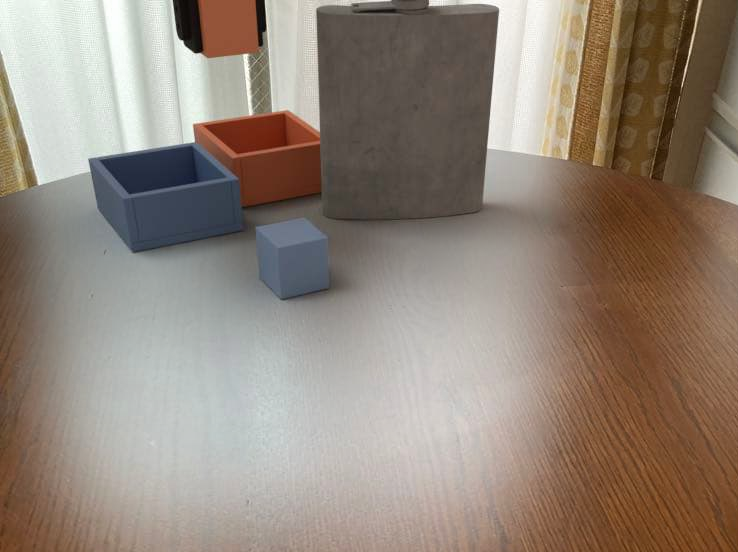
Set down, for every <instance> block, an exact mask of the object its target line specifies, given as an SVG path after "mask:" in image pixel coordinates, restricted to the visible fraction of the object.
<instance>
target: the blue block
mask: <svg viewBox="0 0 738 552" xmlns="http://www.w3.org/2000/svg"><path fill="white" fill-rule="evenodd" d="M255 237H256V238H255V239H256V253H257V265H258V276H259V279H260V280H261V281H262V282H264V284H265V285H266V286H267V287H268V288H269V289H270V290H271V291H272V292H273V293H274V294H275V295H276V296H277V297H278V298H279V299H280V300H284V299H289V298H294V297H298V296H302V295H306V294H310V293H311V294H312V293H315V292H320V291H323V290H328V289H330V269H329V268H330V267H329V266H330V265H329V261H330V260H329V237H328V236H327V235H326V234H324V233H323V232H322V231H320V229H318V228H317V227H316V226H315V225H314V224H312V223H311V222H310V220H308V219H307V218H305V217H300V218H299V217H298V218H295V219H290V220H283V221H279V222H273V223H269V224H265V225H259V226H255Z"/></svg>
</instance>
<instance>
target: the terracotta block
mask: <svg viewBox="0 0 738 552" xmlns="http://www.w3.org/2000/svg"><path fill="white" fill-rule="evenodd" d="M197 1H198V7H199V17H200V26H201V35H202V45H203V51H202V53H200V54H201V55H202V56H203V57H205V58H206V59H214V58H222V57H232V56H240V55H250V54H259V53H260V47H259V46H258V32H257V17H256V3H255V0H197Z"/></svg>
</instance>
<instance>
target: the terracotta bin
mask: <svg viewBox="0 0 738 552" xmlns="http://www.w3.org/2000/svg"><path fill="white" fill-rule="evenodd" d="M192 129H193V137H194V142H198V143H199V144H200V145H201V146H202V147H203V148H204V149H206V150H207V151H208V152H209V153H210V154H211V155H212V156H213V157H215V158H216V159H217V160H218V161H219V162H220V163H221V164H222V165H224V166H225V167H226V168H227V169H228V170H229V171H230V172H231V173H233V174H234V175H235V176H236V177H237V178H238V179H239V186H240V197H241V208H245V207H251V206H256V205H262V204H267V203H272V202H273V203H274V202H277V201H278V202H279V201H282V200H284V201H285V200H288V199H293V198H294V199H295V198H298V197H299V198H300V197H305V196H310V195H315V194H322V181H321V149H320V130H318V129H316V128H314V127H313V126H312V125H311V124H309V123H308V122H306V121H305V120H303V119H302V118H300V117H299V116H298V115H296V114H295V113H293V112H292V111H290V110H289V109H287V110H280V111H273V112H266V113H259V114H253V115H251V114H250V115H246V116H239V117H230V118H224V119H217V120H211V121H203V122H197V123H192Z"/></svg>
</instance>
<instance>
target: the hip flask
mask: <svg viewBox="0 0 738 552" xmlns="http://www.w3.org/2000/svg"><path fill="white" fill-rule="evenodd" d="M315 10H316V11H315V14H316V16H315V18H316V19H315V20H316V45H317V46H316V50H317V78H318V79H317V80H318V81H317V84H318V111H319V113H318V115H319V132H320V149H321V181H322V192H321V208H322V209H321V211H322V214H323V216H325V217H326V218H330V219H335V220H336V219H337V220H359V221H361V220H363V221H364V220H365V221H366V220H367V221H369V220H373V221H374V220H376V221H377V220H407V219H426V218H439V217H450V216H457V215H458V214H459V215H465V214H466V213H467V214H473V212H474V213H478V212H480V211H481V210H482V209H483V200H484V189H485V177H486V167H487V153H488V144H489V132H490V121H491V120H490V119H491V109H492V97H493V85H494V76H495V75H494V74H495V63H496V53H497V52H496V50H497V39H498V31H499V30H498V29H499V18H500V16H499V15H500V8H499V7H498V6H496V5H493V4H486V3H466V4H448V5H447V4H445V5H443V4H442V5H430V0H384V1H383V0H381V1H366V2H365V1H364V2H352V3H351V5H341V4H329V5H328V4H327V5H326V4H325V5H321V6H318V7H317V8H316V9H315ZM477 211H478V212H477ZM459 215H458V216H459Z"/></svg>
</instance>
